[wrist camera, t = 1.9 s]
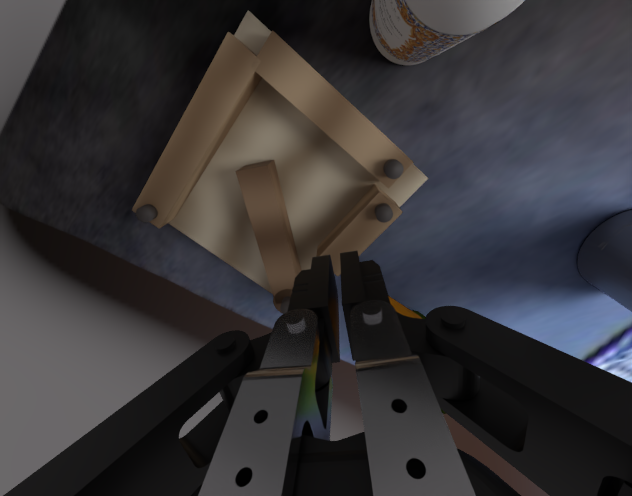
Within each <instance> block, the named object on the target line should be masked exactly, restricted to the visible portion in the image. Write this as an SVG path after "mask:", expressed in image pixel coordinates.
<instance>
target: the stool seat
mask: <svg viewBox="0 0 632 496" xmlns="http://www.w3.org/2000/svg"><path fill="white" fill-rule="evenodd" d="M270 160H274V161H275V165H276V169H277V173H278V177H279V181H280V185H281V189H282V193H283V197H284V201H285V205H286V210H287V214H288V218H289V222H290V226H291V230H292V234H293V238H294V242H295V246H296V250H297V254H298V258H299V262H300V266H301V270H307V269H311V263H312V257H317V256H323V255H330V256H331V261H332V266H333V271H334V274H336V275H337V276H339V275H340V274H341V264H340V253H343V252H350V251H358V256H359V255H360V254H361V253H362V252H363V251H364V250H365V249H366V248H367V247H368V246H369V245H370V244H371V243H372V242H373V241H374V240H375V239H376V238H377V237H379V236H380V235H381V234H382V233H383V232H384V231H385V230H386V229H387V228H388V227H389V226H390V225H391V224H392V223H393V222H394V221H395V220H396V219H397V218H398V217H399V216H400V215H401V214H402V213H403V212H402V211H401V209H400V208H399V207H400V206H401V205H402V204H403V203H404V202H405V201H406V200H407V199H408V198H409V197H410V196H411V195H412V194H413V193H414V192H415V191H416V190H417V189H418V188H419V187H420V186H421V185H422V184H423V183H424V182H425V181H426V180H427V179H428V178H427V177H426V176H425V175H424V174H423V173H422V172H421V171H420V170H419V169H418V168H417V167H416V166H415V165H414V164H412V163H413V161H412V160H411V159H410V158H408V157H407V156H406V155H405V154H404V153H403V152H402V151H401V150H400V149H399V148H398V147H397V146H396V145H395V144H394V143H392V142H391V141H390V140H389V139H388V138H387V137H386V136H385V135H384V134H383V133H382V132H381V131H380V130H379V129H377V128H376V127H375V126H374V125H373V124H372V123H371V122H370V121H369V120H368V119H367V118H366V117H365V116H364V115H363V114H361V113H360V112H359V111H358V110H357V109H356V108H355V107H354V106H353V105H352V104H351V103H350V102H349V101H348V100H347V99H345V98H344V97H343V96H342V95H341V94H340V93H339V92H338V91H337V90H336V89H335V88H334V87H333V86H332V85H330V84H329V83H328V82H327V81H326V80H325V79H324V78H323V77H322V76H321V75H320V74H319V73H318V72H317V71H316V70H314V69H313V68H312V67H311V66H310V65H309V64H308V63H307V62H306V61H305V60H304V59H303V58H302V57H301V56H299V55H298V54H297V53H296V52H295V51H294V50H293V49H292V48H291V47H290V46H289V45H288V44H287V43H286V42H285V41H283V40H282V39H281V38H280V37H279V36H278V35H277V34H276V33H275V32H274V31H273V30H272V32H271V31H270V30H269V29H268V28H267V27H266V26H265V25H264V24H262V23H261V22H260V21H259V20H258V19H257V18H256V17H255V16H254V15H253V14H252V13H251V12H250V11H249V10H248V11H247V13H246V15H245V17H244V18H243V20H242V22H241V24H240V26H239V27H238V29H237V31H236V33H235V35H232V34H231V33H229V32H228V33H227V35H226V37H225V39H224V40H223V42H222V44H221V46H220V48H219V50H218V51H217V53H216V55H215V57H214V59H213V61H212V63H211V64H210V66H209V68H208V70H207V72H206V74H205V76H204V77H203V79H202V81H201V83H200V85H199V87H198V88H197V90H196V92H195V94H194V96H193V98H192V100H191V101H190V103H189V105H188V107H187V109H186V111H185V112H184V114H183V116H182V118H181V120H180V122H179V124H178V125H177V127H176V129H175V131H174V133H173V135H172V136H171V138H170V140H169V142H168V144H167V146H166V148H165V149H164V151H163V153H162V155H161V157H160V159H159V161H158V162H157V164H156V166H155V168H154V170H153V172H152V173H151V175H150V177H149V179H148V181H147V183H146V185H145V186H144V188H143V190H142V192H141V194H140V196H139V197H138V199H137V201H136V203H135V205H134V207H133V209H132V211H134V212H135V213H136V216H137V218H138V219H139V220H140V221H142V222H144V223H147V222H150V223H152V224H153V225H155V226H156V227H158V228H161V227H162V226H164V225H165V224H167V223H169V224H170V225H172V226H173V227H175V228H176V229H177V230H179V231H180V232H182V233H183V234H185V235H186V236H188V237H189V238H191V239H192V240H194V241H195V242H197V243H198V244H200V245H201V246H202V247H204V248H205V249H207V250H208V251H210V252H211V253H213V254H214V255H216V256H217V257H219V258H220V259H222V260H223V261H225V262H226V263H228V264H229V265H230V266H232V267H233V268H235V269H236V270H238V271H239V272H241V273H242V274H244V275H245V276H247V277H248V278H250V279H251V280H253V281H254V282H255V283H257V284H258V285H260V286H261V287H263V288H264V289H266V290H267V291H269V292H270V293H272V290H271V287H270V283H269V280H268V277H267V274H266V270H265V267H264V264H263V260H262V257H261V254H260V251H259V247H258V244H257V241H256V238H255V234H254V231H253V228H252V224H251V221H250V218H249V215H248V211H247V208H246V205H245V201H244V198H243V195H242V192H241V188H240V185H239V182H238V178H237V175H236V172H235V171H237V170H238V169H240V168H242V167H243V166H245V165H249V164H254V163H259V162H264V161H270ZM272 294H273V293H272Z"/></svg>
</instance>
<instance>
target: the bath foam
mask: <svg viewBox="0 0 632 496" xmlns="http://www.w3.org/2000/svg"><path fill="white" fill-rule="evenodd" d="M524 1H525V0H372V2H371V7H370V15H369V22H370V31H371V35H372V38H373V41H374V43H375V45H376V47H377V49H378V50H379V51H380V53H381V54H382V55H383V56H384V57H385V58H387V59H388V60H390V61H392V62H394V63H396V64H400V65H415V64H419V63H422V62H424V61H426V60H428V59H430V58H432V57H434V56H436V55H438V54H440V53H442V52H444V51H446V50H447V49H449V48H451V47H453V46H455V45H457V44H459V43H460V42H462V41H464V40H466V39H468V38H470V37H472V36H474V35H475V34H477V33H479V32H481V31H483V30H485V29H487V28H489V27H490V26H492V25H494V24H496V23H498V22H499V21H501V20H502V19H504V18H505V17H506V16H508V15H509V14H510V13H511V12H512V11H513V10H515V9H516V8H517V7H518V6H519V5H520V4H522V3H523V2H524Z"/></svg>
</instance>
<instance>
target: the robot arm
mask: <svg viewBox="0 0 632 496" xmlns="http://www.w3.org/2000/svg"><path fill="white" fill-rule="evenodd" d="M340 264H341V288H342V306H343V311H344V316H345V322H346V327H347V332H348V337H349V343H350V348H351V353H352V359H353V361H354V360H355V361H356V363H355V366H356V374H357V380H358V389H359V396H360V403H361V410H362V417H363V424H364V431H365V432H362V433H359V434H356V435H353V436H351V437H348V438H345V439H342V440H339V441H330V425H331V407H332V389H333V381H332V376H331V375H332V363H333V362H340V350H339V307H338V293H337V286H336V281H335V276H334V271H333V266H332V261H331V256H330V255H323V256H317V257H312V263H311V269H307V270H301V272H300V273H299V274H298V275H297V276H296V277H295V280H294V285H293V286H294V287H293V289H292V293H291V298H290V302H289V306H288V311H287V313H285V314H283V315H282V316H281V317H279V318H278V319H277V321H276V322H275V325H274V328H273V331H272V332H271V333H269V334H267V335H264V336H262V337H259V338H256V339H253V340H250V339H249V337H248V335H247V334H246V333H245V332H243V331H229V332H226V333H223V334H221V335H219V336H217V337H216V338H214V339H213V340H212V341H210V342H209V343H208V344H207V345H205V346H204V347H202V348H201V349H199V350H198V351H197V352H195V353H194V354H193V355H191V356H190V357H189V358H187V359H186V360H185V361H183V362H182V363H181V364H179V365H178V366H177V367H176V368H174V369H173V370H171V371H170V372H169V373H167V374H166V375H165V376H163V377H162V378H161V379H159V380H158V381H157V382H155V383H154V384H153V385H151V386H150V387H149V388H148V389H146V390H144V391H143V392H142V393H140V394H139V395H138V396H136V397H135V398H134V399H133V400H131V401H130V402H129V403H127V404H126V405H124V406H123V407H122V408H120V409H119V410H118V411H116V412H115V413H114V414H112V415H111V416H110V417H108V418H107V419H106V420H104V421H103V422H102V423H100V424H99V425H98V426H96V427H95V428H94V429H92V430H91V431H90V432H88V433H87V434H85V435H84V436H83V437H81V438H80V439H79V440H77V441H76V442H75V443H73V444H72V445H71V446H69V447H68V448H67V449H65V450H64V451H63V452H61V453H60V454H59V455H57V456H56V457H55V458H53V459H52V460H51V461H49V462H48V463H47V464H45V465H44V466H43V467H41V468H40V469H38V470H37V471H36V472H34V473H33V474H32V475H30V476H29V477H28V478H27V479H25V480H24V481H22V482H21V483H20V484H18V485H17V486H16V487H14V488H13V489H12V490H10V491H9V492H8V493H6V494H5V495H4V496H521V495H520V494H518V493H517V492H516V491H515V490H514V489H513V488H511V487H510V486H509V485H508V484H507V483H506V482H504V481H503V480H502V479H501V478H500V477H499V476H498V475H496V474H495V473H494V472H493V471H492V470H490V469H489V468H488V467H487V466H485V465H484V464H482V463H481V462H479V461H478V460H477V459H475V458H474V457H472V456H470V455H469V454H467V453H465V452H463V451H461V450H459V449H457V448H456V446H455V443H454V441H453V438H452V436H451V433H450V431H449V428H448V426H447V424H446V421H445V419H444V416H443V414H442V411H441V409H442V410H443V411H444V412H445V413H447V414H448V415H449V416H450V417H452V418H453V419H454V420H455V421H457V422H458V423H459V424H460V425H462V426H463V427H464V428H466V429H467V430H468V431H469V432H471V433H472V434H473V435H474V436H476V437H477V438H478V439H479V440H481V441H482V442H483V443H484V444H486V445H487V446H488V447H489V448H491V449H492V450H493V451H494V452H496V453H497V454H498V455H499V456H501V457H502V458H503V459H505V460H506V461H507V462H508V463H510V464H511V465H512V466H513V467H515V468H516V469H517V470H518V471H520V472H521V473H522V474H523V475H525V476H526V477H527V478H528V479H530V480H531V481H532V482H533V483H535V484H536V485H537V486H538V487H540V488H541V489H542V490H544V491H545V492H546V493H547V494H548V495H550V496H632V383H631V382H629V381H627V380H625V379H622V378H620V377H618V376H616V375H613V374H611V373H609V372H607V371H605V370H602V369H600V368H598V367H596V366H593V365H591V364H589V363H587V362H584V361H582V360H580V359H578V358H575V357H573V356H571V355H569V354H566V353H564V352H562V351H560V350H557V349H555V348H553V347H551V346H548V345H546V344H544V343H542V342H540V341H537V340H535V339H533V338H531V337H528V336H526V335H524V334H522V333H519V332H517V331H515V330H513V329H510V328H508V327H506V326H504V325H501V324H499V323H497V322H495V321H492V320H490V319H488V318H486V317H483V316H481V315H479V314H477V313H474V312H472V311H470V310H468V309H465V308H462V307H457V306H442V307H438V308H435V309H433V310H432V311H430V312H429V313H428V314H427V316H426V319H420V318H412V317H408V316H404V315H402V314H400V313H398V312H397V311H395V309H394V307H393V306H392V305H391V304H390V300H389V297H388V293H387V290H386V286H385V283H384V280H383V276H382V273H381V269H380V266H379V265H378V264H377V263H375V262H374V261H373V260H370V261H363V262H359V256H358V251H350V252H343V253H340ZM577 265H578V270H579V272H580V274H581V276H582V277H583V278H584V279H585V280H586V281H587V282H589V283H590V284H592V285H593V286H595V287H596V288H598V289H599V290H601V291H602V292H604V293H605V294H607V295H608V296H609V297H611V298H612V299H614V300H615V301H617V302H618V303H620V304H621V305H623V306H624V307H625V308H627V309H628V310H630V311H631V312H632V210H630V211H626V212H623V213H620V214H618V215H616V216H614V217H612V218H610V219H608V220H607V221H605V222H604V223H602V224H601V225H600V226H598V227H597V228H596V229H595V230H594V231H593V232H592V233H591V234H590V235H589V236H588V237H587V239H586V240H585V242H584V243H583V245H582V247H581V249H580V252H579V254H578V261H577ZM218 392H220V394H221V396H222V399H223V401H222V402H221V403H220V404H219V405H218V406H217V407H216V408H215V409H213V410H212V411H211V412H210V413H209V414H208V415H207V416H206V417H205V418H204V419H203V420H202V421H201V422H200V423H198V425H196V426H195V427H194V428H193V429H192V430H191V431H190V432H189V433H188V434H187V435H185V436H184V437H182V438H180V439H179V432H180V429H181V428H182V426H183V425H184V424H185V422H186V421H187V420H188V419H189V418H191V417H192V416H193V415H194V414H195V413H196V412H197V411H198V410H199V409H201V407H203V406H204V405H205V404H206V403H207V402H208V401H210V400H211V399H212V398H213V397H214V396H215V395H216V394H217V393H218Z"/></svg>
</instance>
